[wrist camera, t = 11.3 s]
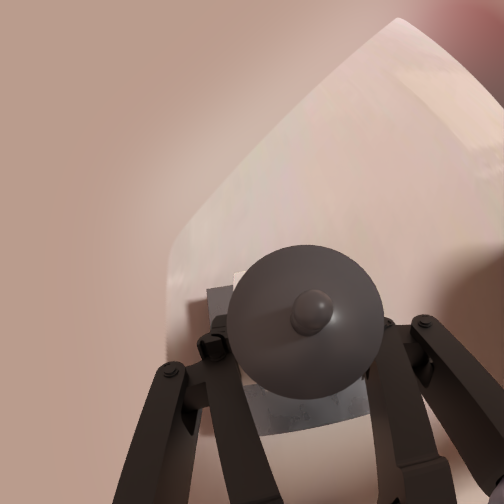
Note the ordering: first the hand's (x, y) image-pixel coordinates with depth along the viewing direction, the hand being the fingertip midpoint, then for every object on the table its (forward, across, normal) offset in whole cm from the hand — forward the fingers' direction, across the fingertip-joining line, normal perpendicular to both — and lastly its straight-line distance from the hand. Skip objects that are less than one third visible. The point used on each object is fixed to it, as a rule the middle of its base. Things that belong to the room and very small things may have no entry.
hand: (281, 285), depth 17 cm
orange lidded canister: (0, 0, -5) cm, 5 cm away
